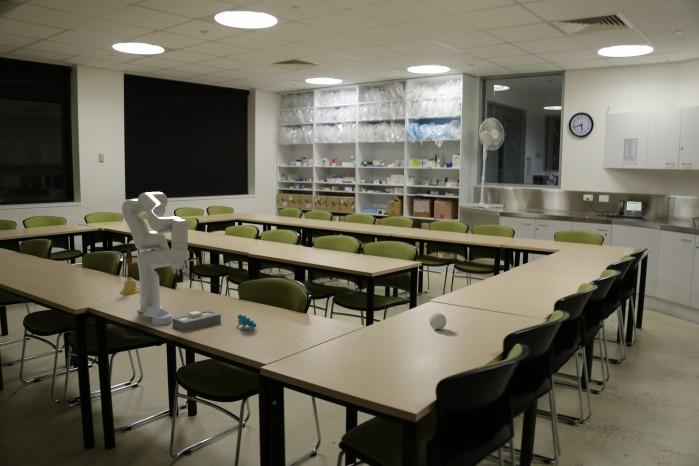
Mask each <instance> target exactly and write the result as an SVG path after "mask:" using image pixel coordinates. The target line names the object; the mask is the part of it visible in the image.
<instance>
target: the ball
mask: <svg viewBox="0 0 699 466" xmlns="http://www.w3.org/2000/svg"><path fill="white" fill-rule="evenodd" d="M429 325H430V326H431V328H432V329H433V330H436V329H440V330H442V329H444V328H445V327H446V326H447V318H446V316H445V315H444V314H443V313H441V312H436V313H432V315H431V316H430V317H429Z"/></svg>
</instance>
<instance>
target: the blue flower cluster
mask: <svg viewBox="0 0 699 466" xmlns="http://www.w3.org/2000/svg"><path fill="white" fill-rule="evenodd" d="M237 319H238V320H237V322H238V323H237V326H236V329H239V327H240V326H242V327H241V328H240V331H243V330H244V329H245V327H246V326H248V327H249V328H253V329H254V328H255V329H256V328H257V323H256V322H255V321H254V320H251V318H250V317H247V316H246V315H242V314H238V315H237Z"/></svg>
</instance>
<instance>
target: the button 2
mask: <svg viewBox="0 0 699 466" xmlns="http://www.w3.org/2000/svg"><path fill="white" fill-rule="evenodd" d="M201 312H202V311H199V310H195V311H190V312H188V315H189V316H190V317H193V318H195V317H199V316H202V313H201Z"/></svg>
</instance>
